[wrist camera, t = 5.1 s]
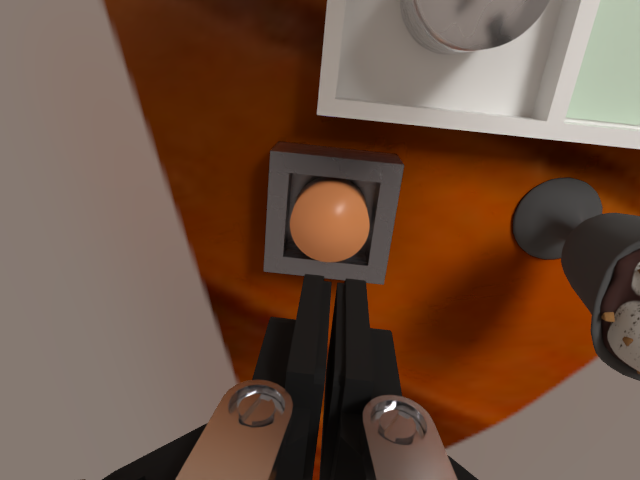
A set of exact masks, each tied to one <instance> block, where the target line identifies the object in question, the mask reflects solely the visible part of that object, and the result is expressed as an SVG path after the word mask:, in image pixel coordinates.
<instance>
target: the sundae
mask: <svg viewBox="0 0 640 480" xmlns="http://www.w3.org/2000/svg"><path fill="white" fill-rule="evenodd" d="M513 233H514V236H515V239H516V241H517V243H518V245H519V246H520V247H521V248H522V249H523V250H524V251H525V252H527V253H528V254H530V255H532V256H534V257H537V258H542V259H558V258H561V263H562V267H563V270H564V273H565V275H566V277H567V279H568V281H569V283H570V284H571V286H572V288H573V289H574V291H575V292H576V293H577V295H578V296H579V297H580V299H581V300H582V301H583V303H584V304H585V305H586V307H587V308H588V309H589V311H590V312H591V314H592V321H591V335H592V341H593V345H594V348H595V351H596V354H597V355H598V356H599V357H600V359H601V360H602V361H603V362H605V363H606V364H607V365H608V366H610V367H611V368H613V369H614V370H616V371H618V372H619V373H621V374H623V375H625V376H628V377H631V378H633V379H636V380H639V381H640V216H634V215H627V214H620V213H607V214H602V204H601V201H600V198H599V196H598V194H597V192H596V191H595V190H594V189H593V188H592V187H591V186H590V185H588V184H587V183H586V182H583V181H581V180H578V179H574V178H557V179H551V180H549V181H546V182H544V183H542V184H540V185H538V186H536V187H534V188H533V189H532V190H531V191H530V192H529V193H528V194H527V195H526V196H525V197H524V198H523V199H522V200H521V202H520V203H519V205H518V207H517V209H516V212H515V214H514V218H513Z"/></svg>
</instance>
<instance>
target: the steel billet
mask: <svg viewBox="0 0 640 480" xmlns="http://www.w3.org/2000/svg"><path fill="white" fill-rule="evenodd" d="M549 1H550V0H400V8H401V14H402V18H403V22H404V24H405V26H406V28H407V30H408V32H409V34H410V35H411V36H412V37H413V39H414V40H415V41H416V42H417V43H418V44H420V45H421V46H422V47H424V48H426V49H428V50H429V51H432V52H435V53H439V54H458V53H464V52H471V51H478V50H484V49H490V48H494V47H498V46H501V45H504V44H506V43H508V42H510V41H512V40H514V39H516V38H517V37H519V36H520V35H522V34H523V33H524V32H525V31H527V30H528V29H529V28H530V27H531V26H532V25H533V24H534V23H535V22H536V21H537V19H538V18H539V17H540V16H541V14H542V13H543V11H544V10H545V8H546V7H547V5H548V3H549Z"/></svg>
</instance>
